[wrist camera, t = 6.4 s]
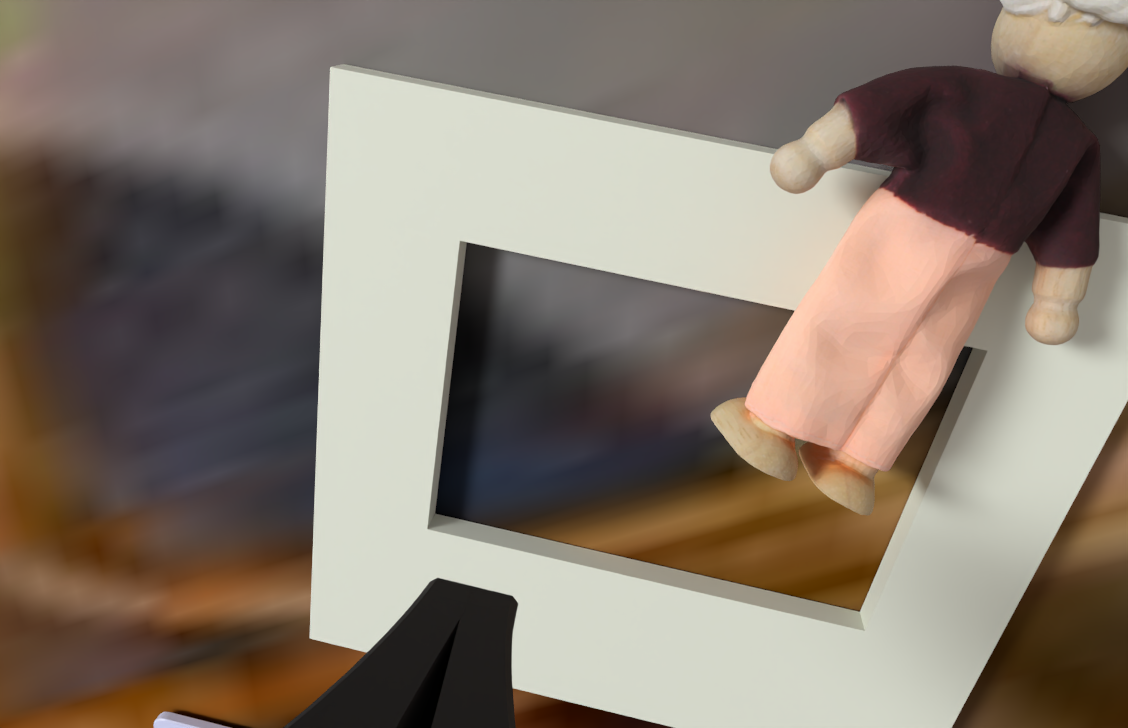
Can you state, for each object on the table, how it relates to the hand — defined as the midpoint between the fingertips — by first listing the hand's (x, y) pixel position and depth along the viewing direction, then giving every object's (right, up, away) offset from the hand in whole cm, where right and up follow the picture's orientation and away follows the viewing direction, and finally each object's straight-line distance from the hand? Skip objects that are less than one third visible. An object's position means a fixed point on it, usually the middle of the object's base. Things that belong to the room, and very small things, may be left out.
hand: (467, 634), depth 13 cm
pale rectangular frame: (+5, +1, +10) cm, 11 cm away
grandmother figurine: (+6, +2, +6) cm, 9 cm away
